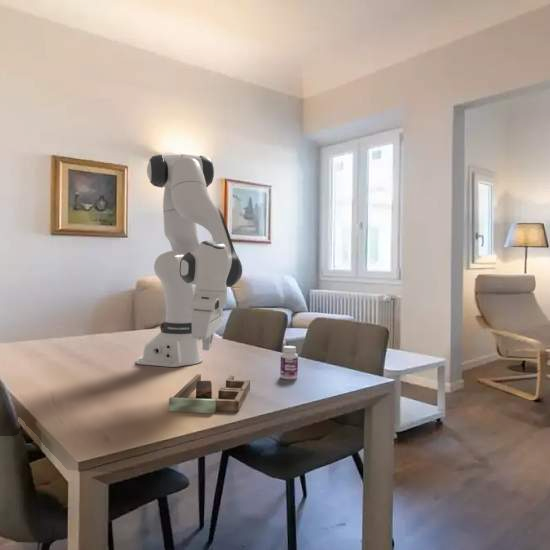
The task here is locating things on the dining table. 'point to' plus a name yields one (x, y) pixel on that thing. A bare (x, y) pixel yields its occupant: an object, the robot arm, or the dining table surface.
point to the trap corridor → (226, 401)
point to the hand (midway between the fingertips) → (206, 349)
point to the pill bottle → (289, 363)
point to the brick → (204, 390)
